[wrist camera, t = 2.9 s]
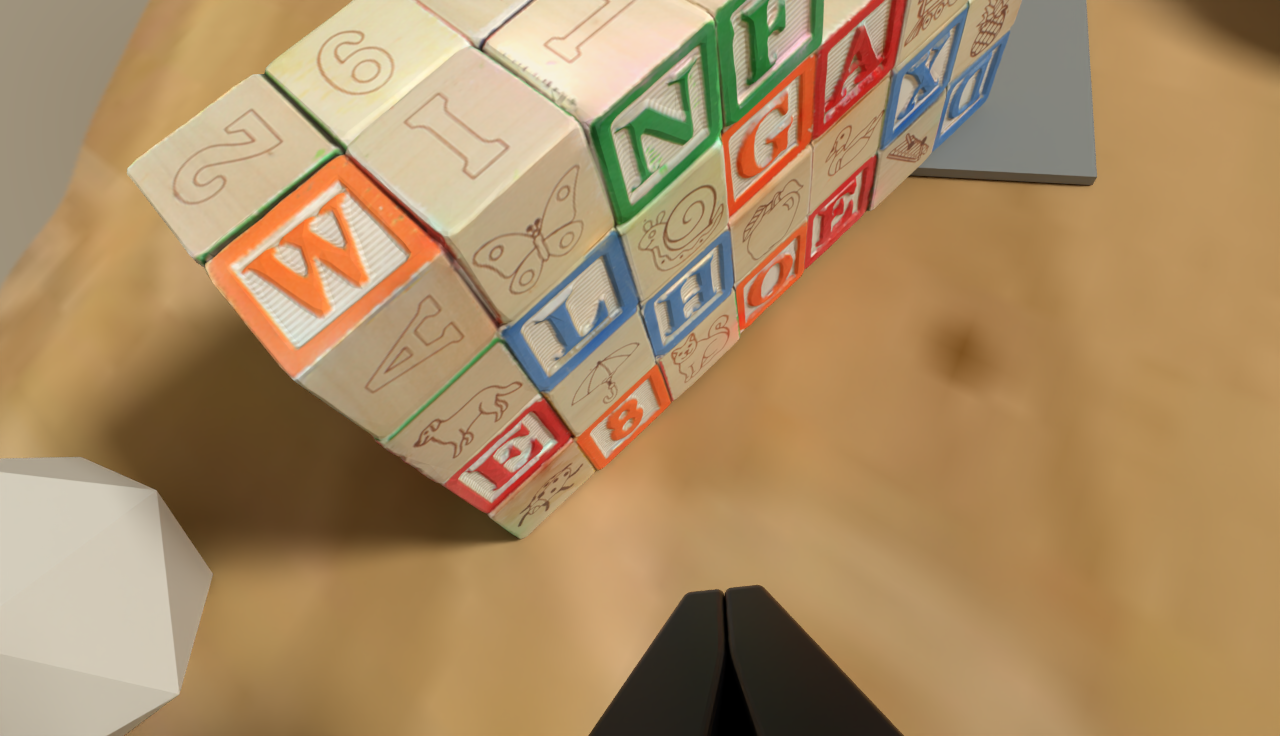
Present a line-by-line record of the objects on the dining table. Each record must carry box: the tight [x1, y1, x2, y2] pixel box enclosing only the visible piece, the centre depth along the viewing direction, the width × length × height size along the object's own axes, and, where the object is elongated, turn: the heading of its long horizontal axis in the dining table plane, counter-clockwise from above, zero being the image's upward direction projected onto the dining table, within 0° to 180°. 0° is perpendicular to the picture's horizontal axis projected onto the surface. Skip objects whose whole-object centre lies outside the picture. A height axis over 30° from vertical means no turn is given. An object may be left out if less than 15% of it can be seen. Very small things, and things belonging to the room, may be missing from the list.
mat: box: [910, 0, 1097, 185], centre depth 30 cm, size 13×24×1 cm, turn 79°
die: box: [0, 457, 213, 736], centre depth 20 cm, size 8×9×10 cm
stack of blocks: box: [127, 0, 1022, 539], centre depth 20 cm, size 21×6×12 cm, turn 133°
